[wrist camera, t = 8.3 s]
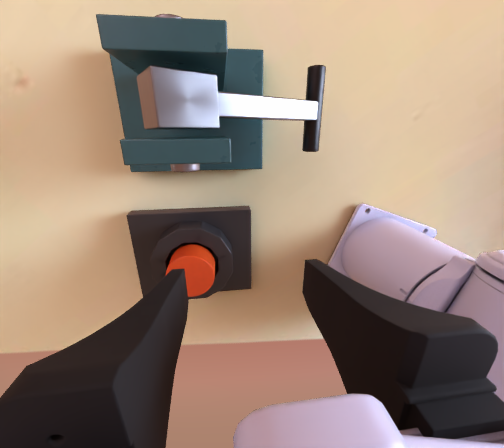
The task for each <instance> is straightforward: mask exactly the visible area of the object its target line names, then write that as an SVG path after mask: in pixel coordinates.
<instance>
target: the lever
mask: <svg viewBox="0 0 504 448" xmlns="http://www.w3.org/2000/svg"><path fill="white" fill-rule="evenodd" d="M325 71H326V67H325V66H323V65H314V66H310V67H308V74H307V89H306V100H299V99H289V98H279V97H269V96H259V95H249V94H238V93H228V92H218V84H217V75H216V74H212V73H205V72H198V71H191V70H184V69H177V68H170V67H162V66H155V65H150V66H149V67H148V68H146V69H145V70H144V71H143V72H142V73H140V74H139V75H138V76H137V83H138V90H139V96H140V103H141V109H142V116H143V123H144V128H145V129H219V127H220V125H219V118H232V119H264V120H296V121H304V134H303V149H302V150H303V151H305V152H316V151H318V149H319V138H320V127H321V116H322V105H323V94H324V82H325Z"/></svg>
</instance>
